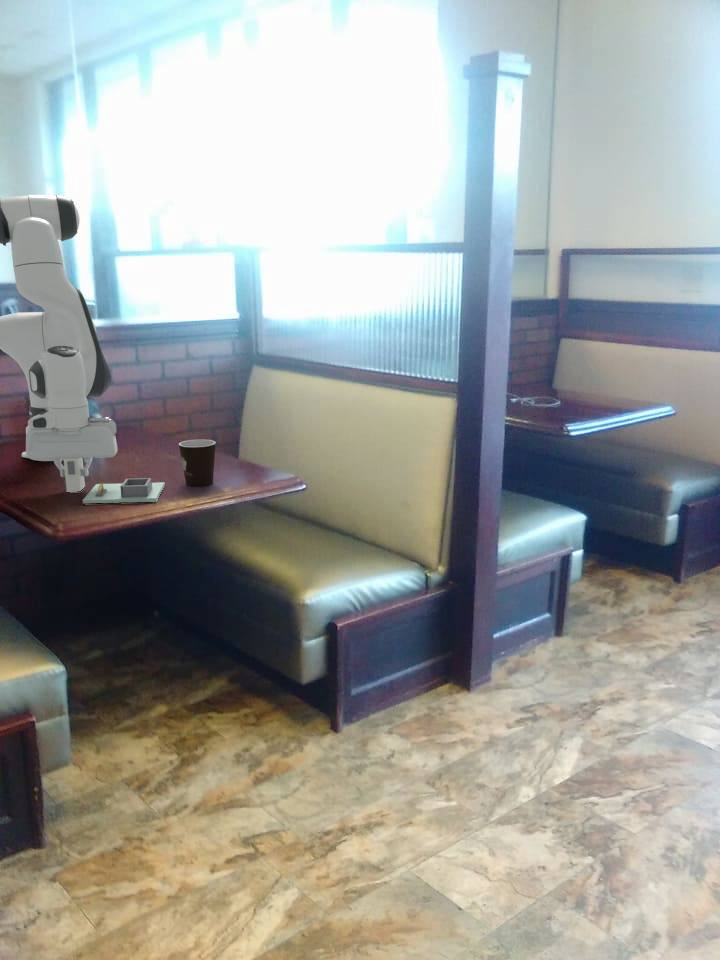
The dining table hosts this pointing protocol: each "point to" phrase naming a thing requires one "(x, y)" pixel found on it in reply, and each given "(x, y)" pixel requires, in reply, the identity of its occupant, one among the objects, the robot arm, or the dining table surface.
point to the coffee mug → (198, 462)
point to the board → (126, 491)
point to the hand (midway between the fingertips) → (74, 476)
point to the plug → (74, 474)
